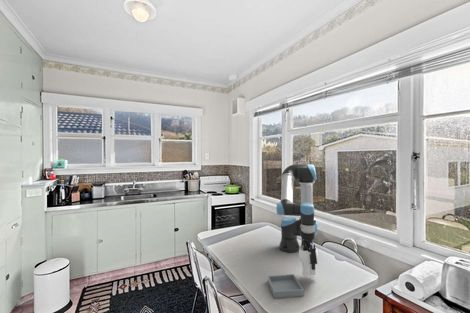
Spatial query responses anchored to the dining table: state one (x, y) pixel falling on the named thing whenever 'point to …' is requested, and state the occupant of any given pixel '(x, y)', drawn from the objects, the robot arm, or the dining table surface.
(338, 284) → the dining table surface
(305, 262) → the cup
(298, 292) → the tray
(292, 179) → the robot arm
